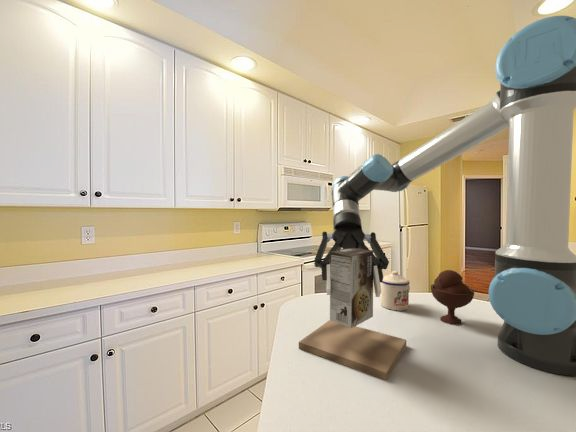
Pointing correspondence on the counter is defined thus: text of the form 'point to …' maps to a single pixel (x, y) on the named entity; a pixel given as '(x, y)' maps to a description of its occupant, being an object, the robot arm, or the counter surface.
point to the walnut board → (355, 348)
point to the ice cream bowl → (451, 294)
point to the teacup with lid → (395, 292)
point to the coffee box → (351, 286)
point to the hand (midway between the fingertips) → (353, 293)
